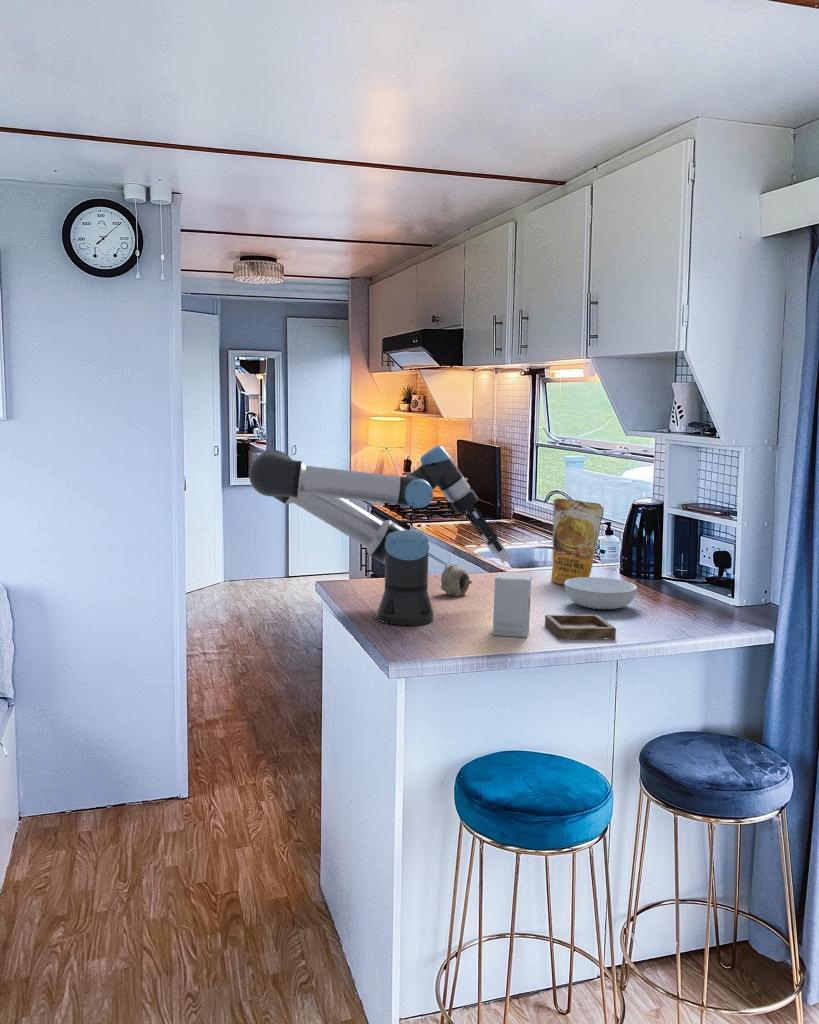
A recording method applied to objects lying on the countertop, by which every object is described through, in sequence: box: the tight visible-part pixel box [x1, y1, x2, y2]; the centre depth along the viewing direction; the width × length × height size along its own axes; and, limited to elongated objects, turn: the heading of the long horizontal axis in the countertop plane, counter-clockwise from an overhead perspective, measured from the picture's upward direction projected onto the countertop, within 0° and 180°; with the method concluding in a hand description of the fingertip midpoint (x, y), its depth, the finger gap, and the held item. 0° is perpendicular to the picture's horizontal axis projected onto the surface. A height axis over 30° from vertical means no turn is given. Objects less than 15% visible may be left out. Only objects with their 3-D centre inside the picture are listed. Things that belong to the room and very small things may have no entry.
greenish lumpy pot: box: [440, 564, 473, 597], centre depth 267 cm, size 9×8×10 cm
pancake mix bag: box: [550, 498, 604, 586], centre depth 284 cm, size 7×19×28 cm, turn 39°
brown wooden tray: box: [544, 614, 617, 640], centre depth 225 cm, size 14×14×3 cm
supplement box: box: [492, 571, 532, 639], centre depth 222 cm, size 9×9×15 cm
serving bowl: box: [564, 576, 638, 610], centre depth 254 cm, size 21×21×7 cm
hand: (501, 555), depth 249 cm, fingers open, 13 cm apart
